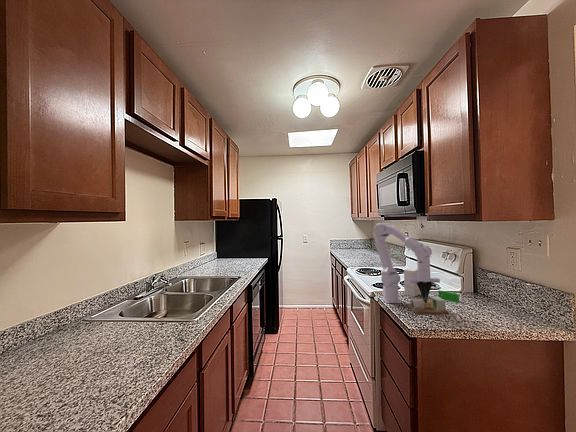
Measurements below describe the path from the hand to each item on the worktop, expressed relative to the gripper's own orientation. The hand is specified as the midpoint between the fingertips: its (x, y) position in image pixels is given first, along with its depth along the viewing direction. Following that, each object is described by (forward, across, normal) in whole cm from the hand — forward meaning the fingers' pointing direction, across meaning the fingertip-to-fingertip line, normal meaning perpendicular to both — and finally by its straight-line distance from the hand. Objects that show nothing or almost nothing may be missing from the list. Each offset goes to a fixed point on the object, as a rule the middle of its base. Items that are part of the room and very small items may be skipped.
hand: (424, 297), depth 138 cm
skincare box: (+7, +5, +28) cm, 29 cm away
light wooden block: (+5, -1, 0) cm, 5 cm away
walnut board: (+6, +1, 0) cm, 6 cm away
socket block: (+5, +7, 0) cm, 8 cm away
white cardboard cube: (+5, -4, 0) cm, 7 cm away
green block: (+7, +21, +16) cm, 28 cm away
